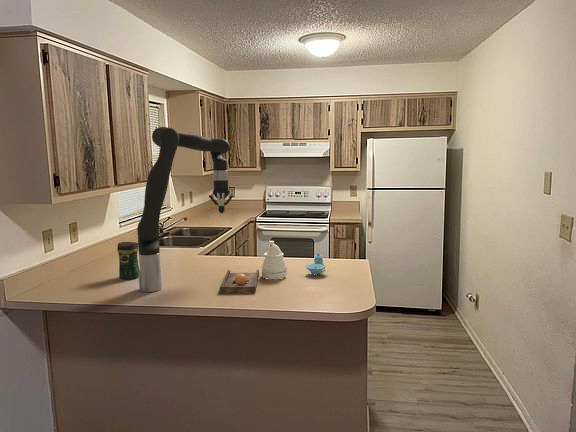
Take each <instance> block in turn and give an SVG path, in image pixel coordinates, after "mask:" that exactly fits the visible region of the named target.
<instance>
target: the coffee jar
mask: <svg viewBox="0 0 576 432" xmlns="http://www.w3.org/2000/svg"><path fill="white" fill-rule="evenodd" d="M117 253H118V261H119V266H118V267H119V269H118V273H119V274H118V277H119V278H120V279H121V280H122V279H123V280H132V279H133V280H134V279H139V273H138V271H139V270H140V264H139V257H138V253H139V249H138V243H137V242H136V241H121V242H118V243H117Z"/></svg>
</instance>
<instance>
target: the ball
mask: <svg viewBox="0 0 576 432" xmlns="http://www.w3.org/2000/svg"><path fill="white" fill-rule="evenodd" d="M247 281H248V279H247V276H246V275H244V274H238V275H237V276H236V277H235V283H234V284H235V285H248V283H247Z"/></svg>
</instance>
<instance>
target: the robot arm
mask: <svg viewBox="0 0 576 432" xmlns="http://www.w3.org/2000/svg"><path fill="white" fill-rule="evenodd" d="M151 139H152V142H153V143H154V144H155V145H156V146H157V147H159V153H158V157H157V160H156V161H155V163H154V165H153V166H152V168H151V169H150V171H149V173H148V175H147V180H146V185H145V190H144V191H145V192H144V202H143V203H144V204H143V209H142V211H143V212H142V215H141V217H140V221H139V222H138V224H137V227H136V231H137V242H138V243H137V245H138V265H139V271H138V273H139V277H138V285H139V287H138V288H139V292H143V293H154V292H159V291H161V290H162V286H163V285H162V284H163V283H162V270H161V268H162V266H161V251H160V250H161V249H160V248H161V247H160V234H159V232H160V231H159V230H160V219H161V218H160V217H161V211H162V208H163V204H164V202H165V200H166V199H165V198H166V194H167V192H168V187H169V181H170V175H171V172H172V167H173V163H174V159H175V156H176V152H177V149H178V147H180V148H185V149H190V150H193V151H199V152H210V156H211V160H212V163H213V167H212V168H213V170H212V171H213V172H212V177H213V179H212V180H213V181H212V182H213V190H212V193H211V194H210V195H208V198H209V199H210V200H211V201H212V203H213V204H214V205H215V206H217V207H218V213H219V214H224V213H225V211H226V209H225V206H227V205H228V204H229V203H230V202H231V200H232V199H233V197H234V194H232V193H231V192H230V190H229V172H228V160H227V159H226V158H224V157H223V155H222V154H226V153H229V151H230V149H231V145H230V142H229V141H228V140H227V139H223V138H215V137H214V138H212V137H209V136H203V135H197V134H196V135H195V134H189V133H181V132H178V130H177V129H175V128H172V127H167V126H159V127H156V128H155V129H154V130H153V131H152V135H151ZM227 197H228V199H227ZM226 199H227V200H226Z"/></svg>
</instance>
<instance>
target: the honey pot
mask: <svg viewBox="0 0 576 432" xmlns="http://www.w3.org/2000/svg"><path fill="white" fill-rule="evenodd" d="M268 244H269V245H270V247H269V248H268V249H267V252H264V254H263V256H264V259H263V263H262V266H261V277H264V278H268V279H280V278H284V277H286V276H287V277H288V265H287V263H286V259H285V258H284V252H282V251H281V249H280V247H279V246H278V245H277V244H275V241H274V240H269V241H268ZM287 277H286V278H287ZM264 278H263V279H264Z"/></svg>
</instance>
